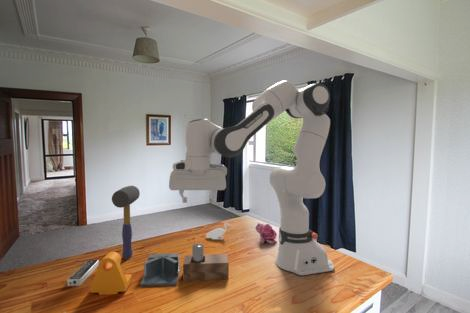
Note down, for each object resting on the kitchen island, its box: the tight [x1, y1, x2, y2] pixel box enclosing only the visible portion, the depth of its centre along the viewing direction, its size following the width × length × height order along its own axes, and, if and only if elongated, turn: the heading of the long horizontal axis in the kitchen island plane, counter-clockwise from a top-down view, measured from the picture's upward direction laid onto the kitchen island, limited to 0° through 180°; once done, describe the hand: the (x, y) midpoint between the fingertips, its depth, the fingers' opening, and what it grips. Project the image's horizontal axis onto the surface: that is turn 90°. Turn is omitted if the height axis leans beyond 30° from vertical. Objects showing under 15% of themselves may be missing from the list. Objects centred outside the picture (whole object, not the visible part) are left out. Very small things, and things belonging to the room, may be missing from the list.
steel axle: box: [191, 243, 204, 263], centre depth 94 cm, size 4×4×11 cm
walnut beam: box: [182, 253, 230, 282], centre depth 95 cm, size 16×7×6 cm, turn 95°
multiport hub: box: [66, 259, 100, 287], centre depth 95 cm, size 4×14×2 cm, turn 5°
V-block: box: [139, 252, 182, 288], centre depth 93 cm, size 12×12×6 cm
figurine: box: [205, 222, 234, 240], centre depth 129 cm, size 14×4×9 cm, turn 93°
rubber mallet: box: [111, 185, 141, 260], centre depth 107 cm, size 12×8×30 cm, turn 0°
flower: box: [255, 223, 278, 245], centre depth 127 cm, size 11×10×10 cm
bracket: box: [89, 251, 133, 296], centre depth 86 cm, size 11×7×12 cm, turn 95°
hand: (197, 202), depth 93 cm, fingers open, 8 cm apart
